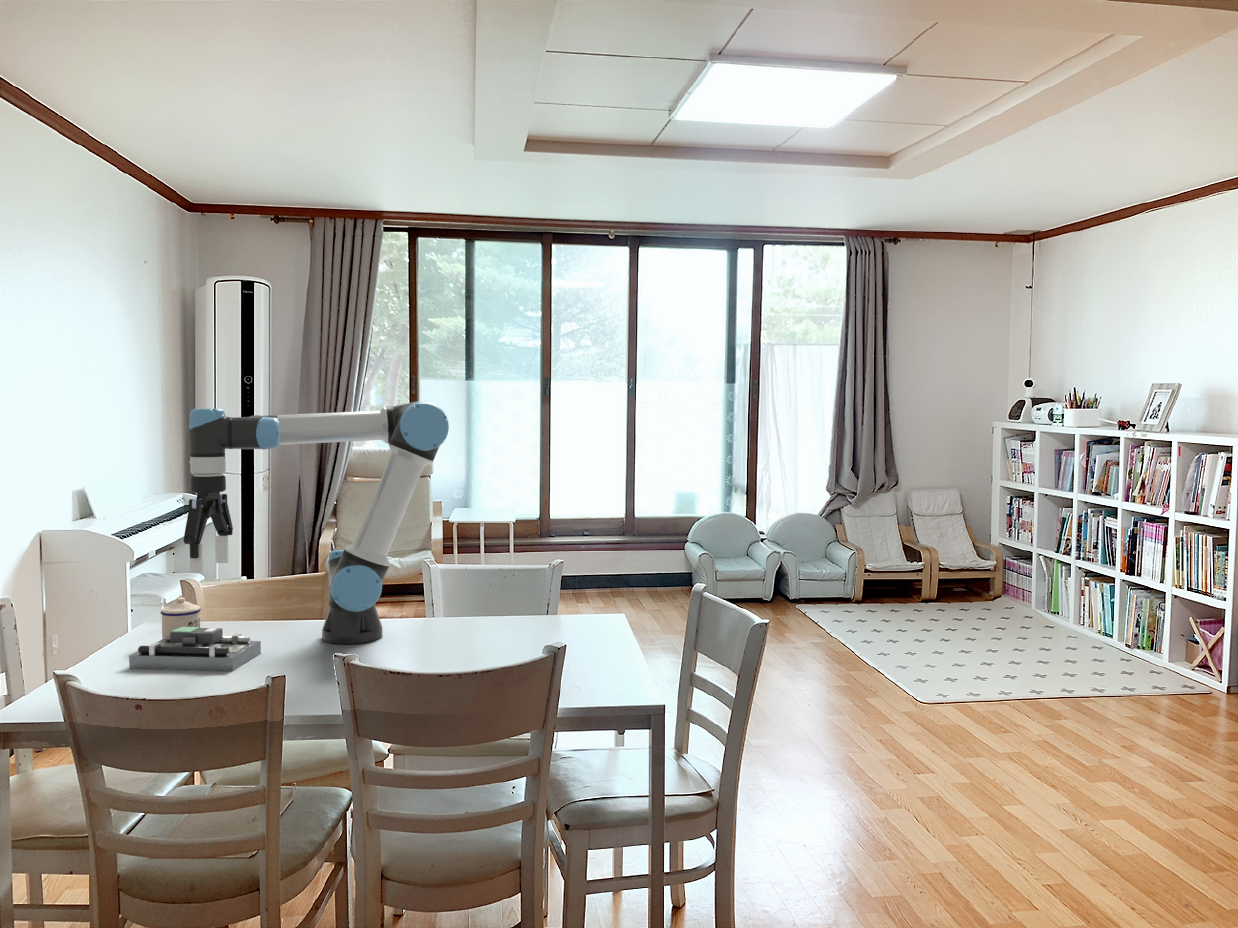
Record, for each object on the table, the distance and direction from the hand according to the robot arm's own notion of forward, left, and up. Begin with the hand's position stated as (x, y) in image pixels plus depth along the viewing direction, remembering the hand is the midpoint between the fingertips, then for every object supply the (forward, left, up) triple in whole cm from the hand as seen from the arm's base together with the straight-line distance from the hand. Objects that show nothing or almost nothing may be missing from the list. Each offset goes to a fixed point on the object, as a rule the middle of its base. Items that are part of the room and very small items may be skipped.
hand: (209, 567), depth 218 cm
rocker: (+3, 0, -17) cm, 18 cm away
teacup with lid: (+14, -15, -22) cm, 31 cm away
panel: (+3, 0, -22) cm, 22 cm away
